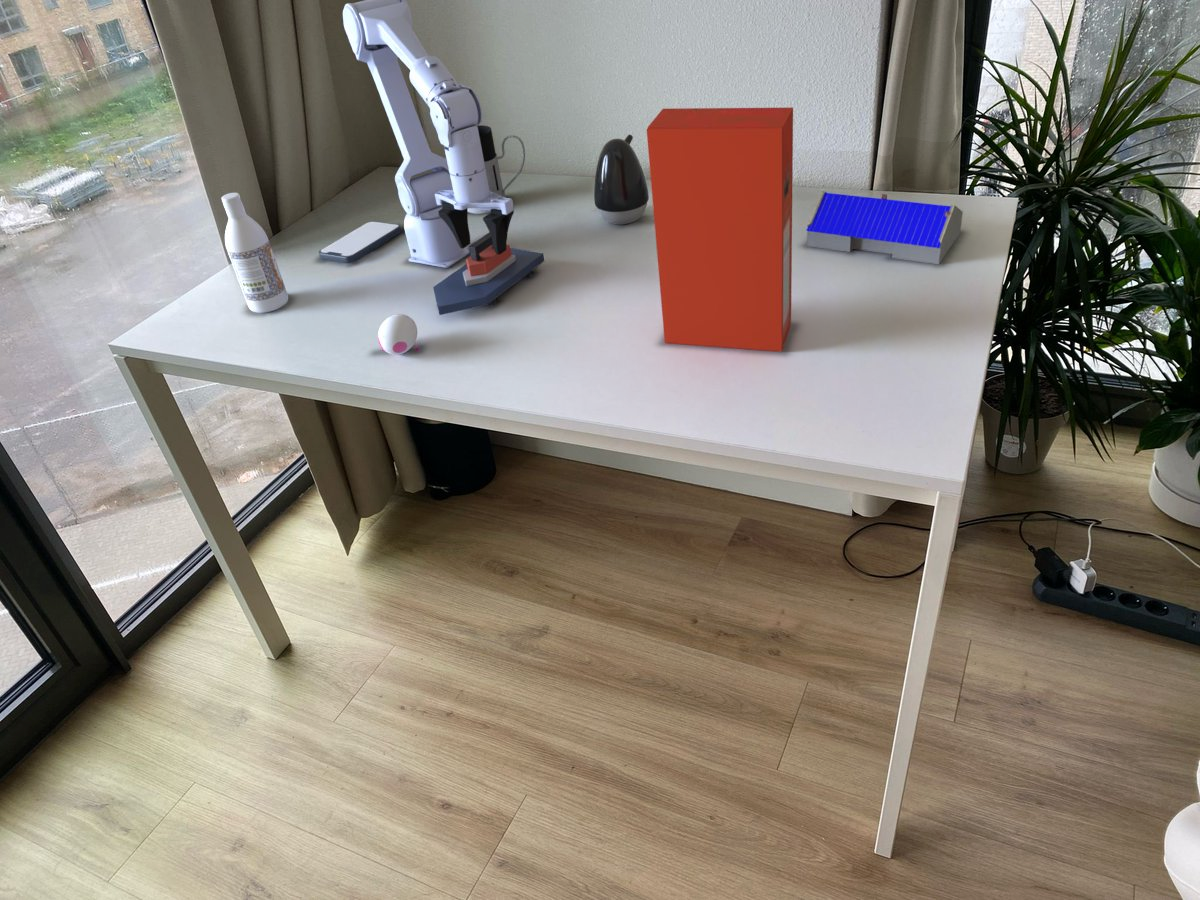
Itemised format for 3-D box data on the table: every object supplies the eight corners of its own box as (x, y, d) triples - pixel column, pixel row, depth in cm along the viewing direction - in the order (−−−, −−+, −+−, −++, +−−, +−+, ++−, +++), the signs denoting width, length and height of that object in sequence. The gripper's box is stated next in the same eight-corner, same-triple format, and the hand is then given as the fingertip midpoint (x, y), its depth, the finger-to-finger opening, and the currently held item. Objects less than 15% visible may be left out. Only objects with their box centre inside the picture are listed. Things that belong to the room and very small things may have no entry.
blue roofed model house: (961, 231, 156) (966, 189, 152) (937, 266, 147) (942, 222, 143) (835, 215, 167) (836, 176, 163) (805, 247, 158) (806, 206, 154)
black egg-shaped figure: (660, 211, 178) (654, 131, 169) (633, 233, 171) (625, 151, 162) (615, 205, 183) (607, 127, 174) (586, 226, 176) (576, 146, 167)
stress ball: (400, 357, 150) (369, 328, 147) (434, 329, 147) (403, 299, 144) (389, 381, 144) (356, 351, 141) (424, 352, 141) (391, 321, 138)
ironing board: (416, 317, 154) (411, 301, 152) (496, 260, 168) (493, 244, 166) (468, 329, 148) (464, 312, 147) (546, 268, 163) (543, 252, 161)
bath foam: (292, 306, 162) (254, 196, 150) (252, 318, 160) (211, 207, 148) (285, 291, 168) (248, 184, 156) (246, 302, 165) (206, 195, 154)
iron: (493, 256, 162) (487, 226, 159) (516, 260, 160) (511, 229, 157) (454, 283, 155) (447, 252, 152) (478, 288, 153) (471, 257, 150)
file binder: (781, 353, 132) (782, 127, 113) (664, 344, 138) (646, 127, 119) (791, 325, 138) (793, 106, 119) (678, 318, 143) (663, 107, 125)
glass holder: (471, 197, 195) (456, 125, 186) (537, 194, 192) (525, 120, 183) (460, 214, 188) (444, 140, 179) (528, 211, 185) (516, 135, 176)
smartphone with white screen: (371, 227, 188) (317, 260, 177) (369, 220, 187) (314, 252, 176) (405, 232, 184) (352, 265, 173) (403, 224, 183) (349, 257, 172)
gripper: (416, 174, 148) (434, 253, 156) (488, 183, 141) (503, 265, 150) (444, 158, 153) (460, 236, 161) (515, 166, 146) (528, 247, 154)
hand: (483, 249), depth 156 cm, fingers open, 7 cm apart
